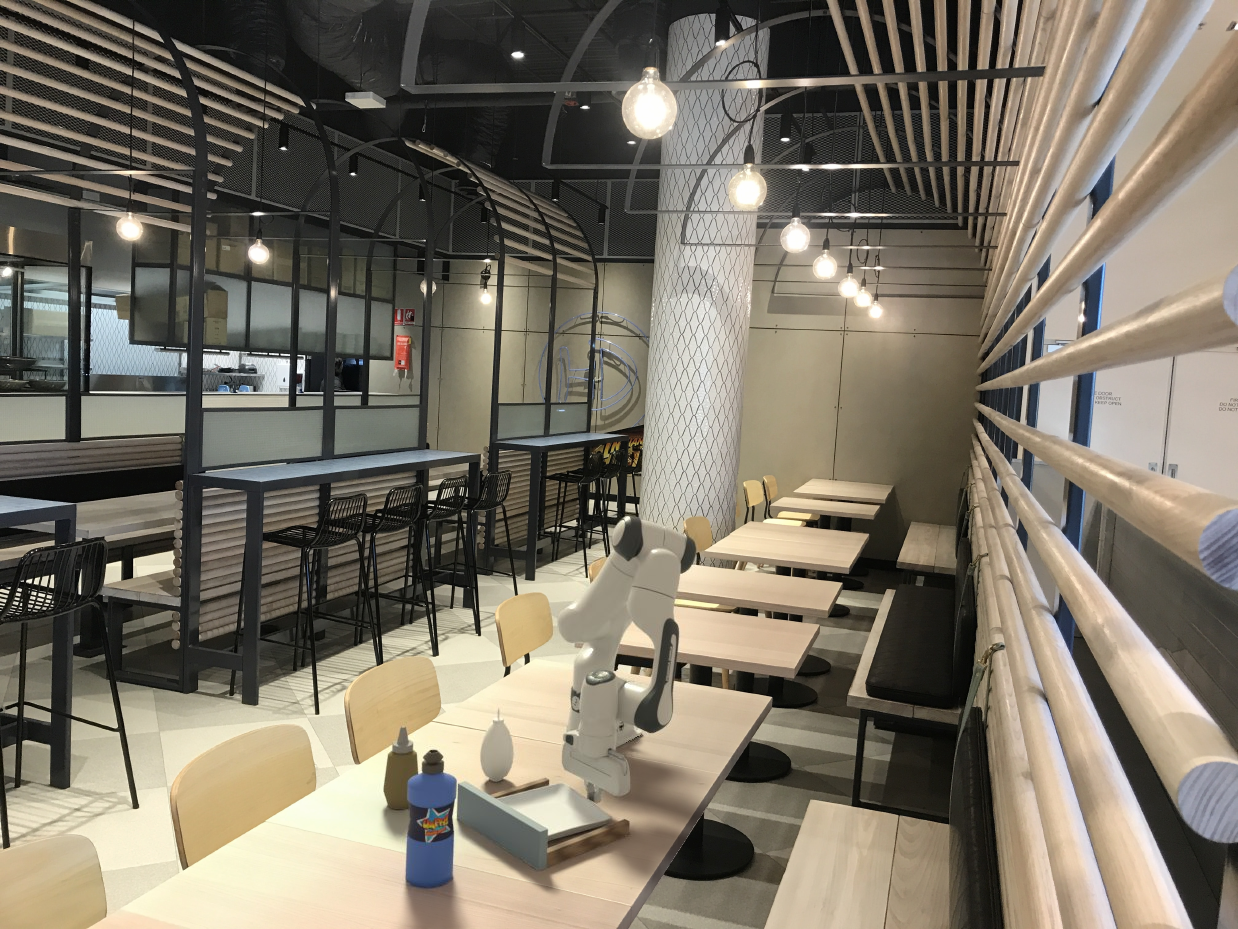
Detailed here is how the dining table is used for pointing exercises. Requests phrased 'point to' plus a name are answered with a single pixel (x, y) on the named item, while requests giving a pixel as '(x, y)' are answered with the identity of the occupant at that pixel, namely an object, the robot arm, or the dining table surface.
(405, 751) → the squeeze bottle
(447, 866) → the water bottle
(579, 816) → the salad plate
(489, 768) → the white dust blower
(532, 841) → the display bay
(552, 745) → the dining table surface
